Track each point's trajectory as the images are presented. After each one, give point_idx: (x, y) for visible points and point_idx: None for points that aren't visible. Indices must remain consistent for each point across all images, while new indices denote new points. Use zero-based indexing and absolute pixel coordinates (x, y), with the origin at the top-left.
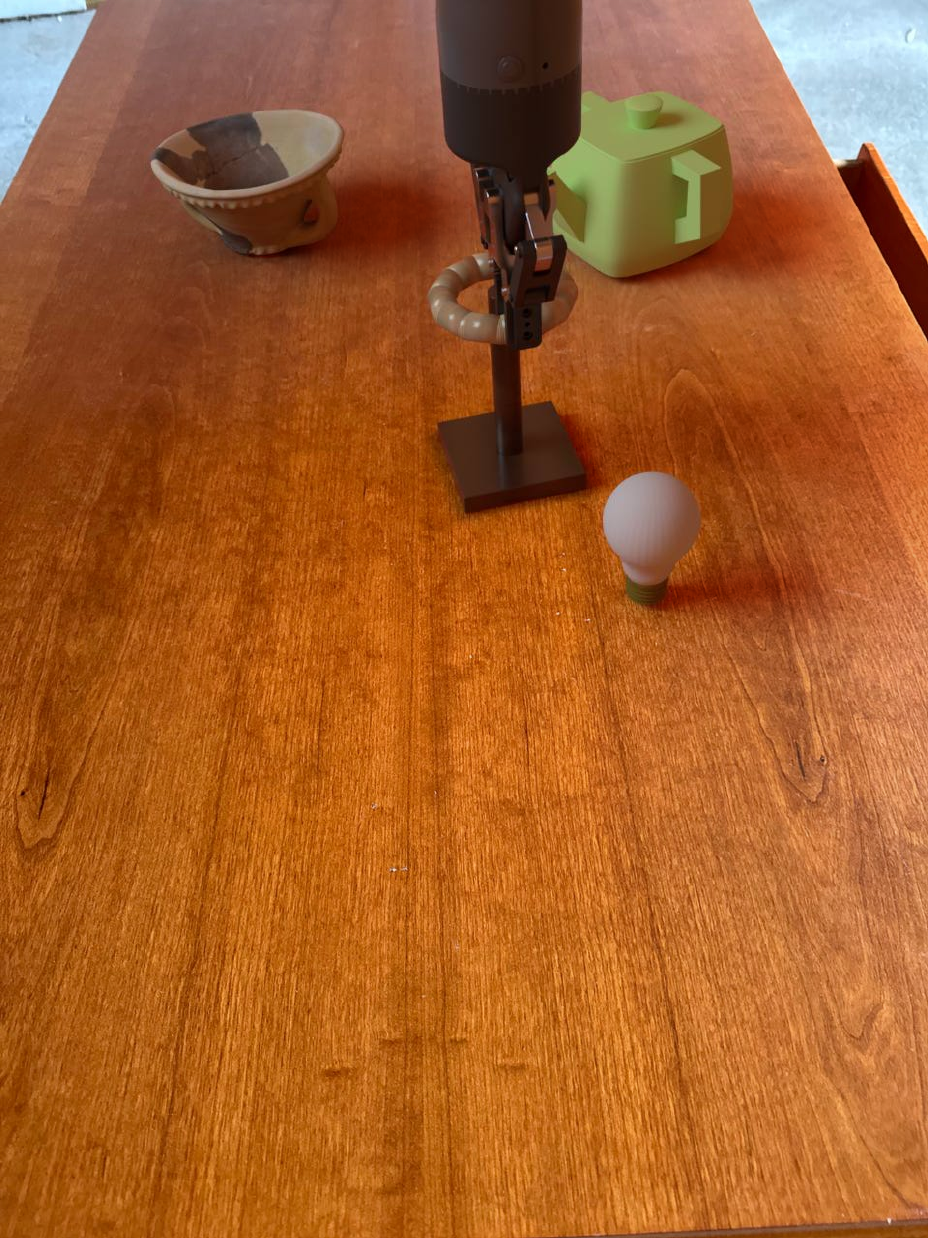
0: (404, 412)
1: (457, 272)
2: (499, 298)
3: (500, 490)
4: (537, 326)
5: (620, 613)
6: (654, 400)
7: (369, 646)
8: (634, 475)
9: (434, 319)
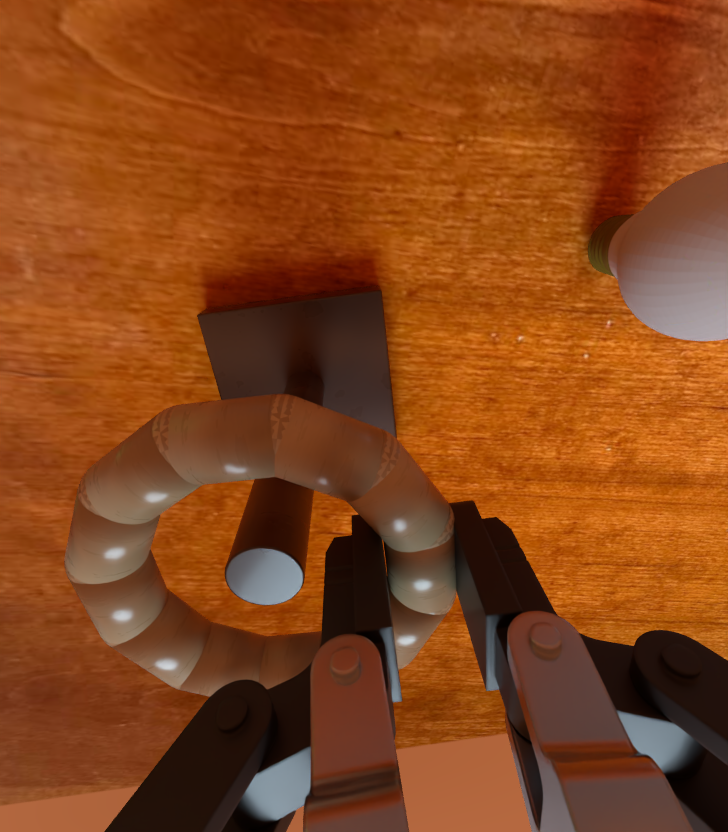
0: (192, 492)
1: (191, 667)
2: (394, 638)
3: (392, 408)
4: (524, 557)
5: (614, 281)
6: (165, 117)
7: (559, 531)
8: (711, 291)
9: None
